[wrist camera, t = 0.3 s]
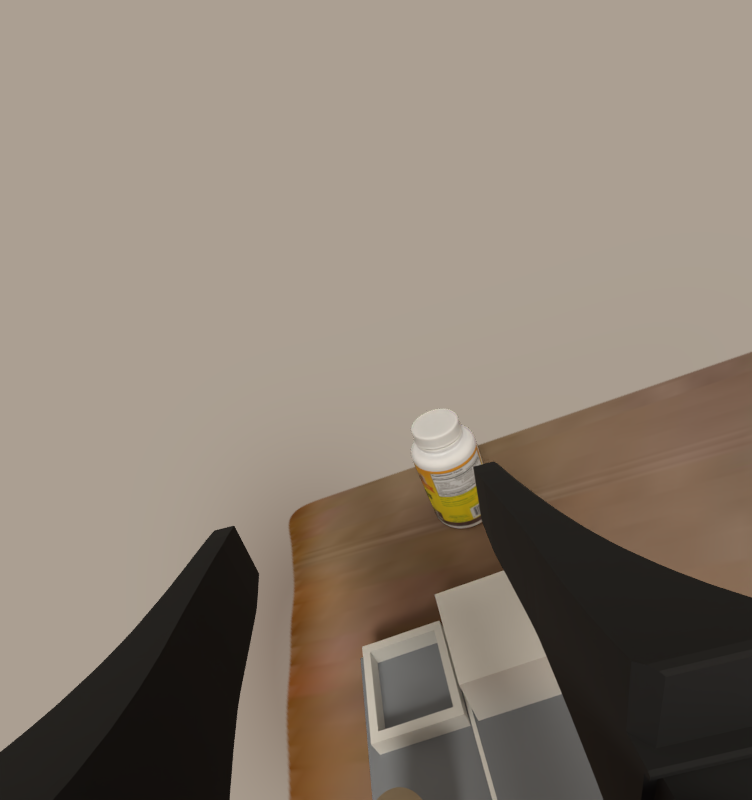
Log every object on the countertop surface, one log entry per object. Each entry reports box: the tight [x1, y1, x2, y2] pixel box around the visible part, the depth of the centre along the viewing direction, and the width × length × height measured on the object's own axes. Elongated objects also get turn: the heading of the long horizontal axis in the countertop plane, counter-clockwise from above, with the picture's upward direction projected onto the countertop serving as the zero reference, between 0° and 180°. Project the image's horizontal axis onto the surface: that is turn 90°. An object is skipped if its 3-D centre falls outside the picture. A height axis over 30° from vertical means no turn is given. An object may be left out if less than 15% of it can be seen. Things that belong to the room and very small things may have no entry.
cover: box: [435, 571, 562, 721], centre depth 25 cm, size 5×5×4 cm
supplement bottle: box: [411, 409, 483, 528], centre depth 37 cm, size 6×6×10 cm
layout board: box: [361, 621, 603, 800], centre depth 23 cm, size 14×13×4 cm
